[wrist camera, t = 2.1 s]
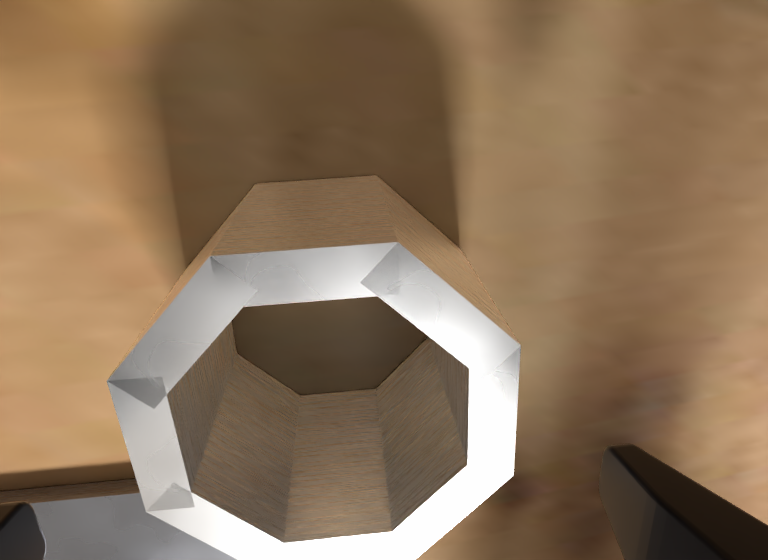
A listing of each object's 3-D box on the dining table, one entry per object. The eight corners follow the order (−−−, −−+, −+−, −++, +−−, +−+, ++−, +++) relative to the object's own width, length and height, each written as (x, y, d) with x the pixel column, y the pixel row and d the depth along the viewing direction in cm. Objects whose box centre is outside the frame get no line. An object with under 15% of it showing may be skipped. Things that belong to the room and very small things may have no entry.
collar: (460, 169, 13) (526, 232, 8) (459, 442, 16) (506, 594, 12) (168, 189, 13) (72, 266, 8) (226, 464, 16) (181, 630, 11)
